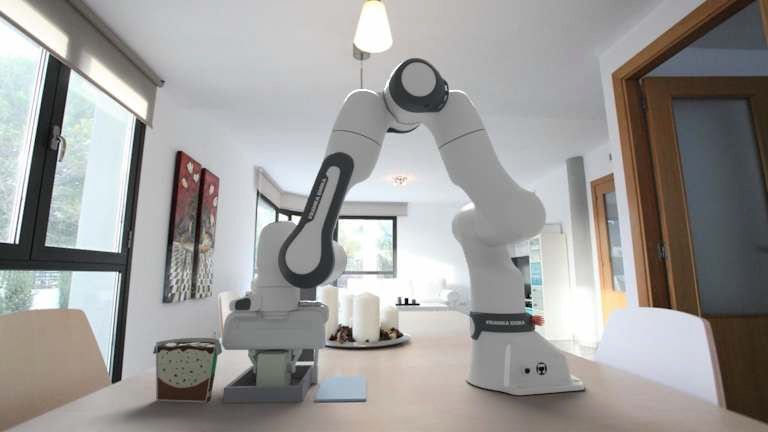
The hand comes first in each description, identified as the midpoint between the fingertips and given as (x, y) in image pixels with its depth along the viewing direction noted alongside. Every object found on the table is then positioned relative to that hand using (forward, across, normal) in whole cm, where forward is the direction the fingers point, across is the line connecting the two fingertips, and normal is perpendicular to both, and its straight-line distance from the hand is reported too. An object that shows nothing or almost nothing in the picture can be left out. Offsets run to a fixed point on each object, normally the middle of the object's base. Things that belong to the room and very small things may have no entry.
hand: (274, 372), depth 75 cm
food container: (+3, +14, +4) cm, 15 cm away
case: (+3, 0, 0) cm, 3 cm away
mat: (+3, -14, +1) cm, 14 cm away
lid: (-9, 0, -9) cm, 12 cm away
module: (+3, 0, 0) cm, 3 cm away
